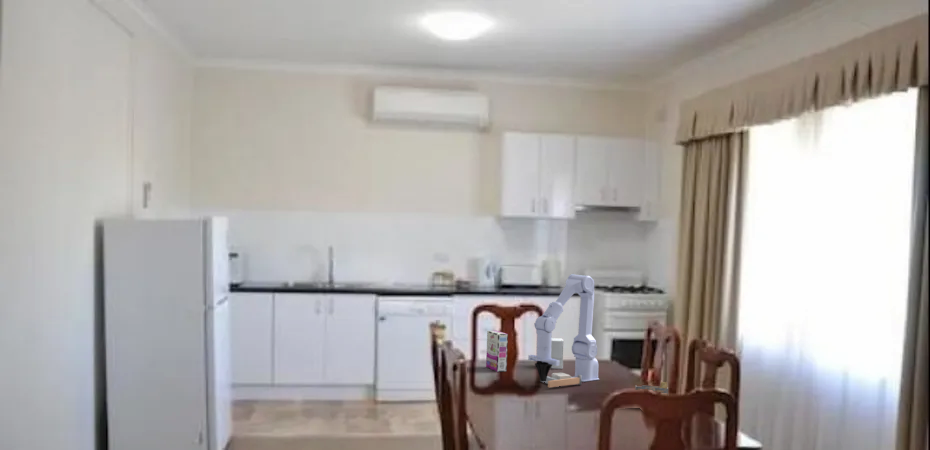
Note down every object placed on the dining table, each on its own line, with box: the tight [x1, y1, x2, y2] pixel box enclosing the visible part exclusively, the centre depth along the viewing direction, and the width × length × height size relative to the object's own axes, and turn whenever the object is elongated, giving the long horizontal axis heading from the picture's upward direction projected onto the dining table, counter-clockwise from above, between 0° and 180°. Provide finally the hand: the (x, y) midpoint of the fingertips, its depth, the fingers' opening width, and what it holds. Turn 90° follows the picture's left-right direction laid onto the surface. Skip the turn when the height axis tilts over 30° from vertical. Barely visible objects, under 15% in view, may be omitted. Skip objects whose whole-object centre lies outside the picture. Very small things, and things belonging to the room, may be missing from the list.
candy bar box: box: [485, 330, 509, 373], centre depth 327 cm, size 11×5×16 cm, turn 25°
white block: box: [551, 372, 571, 380], centre depth 303 cm, size 5×6×4 cm
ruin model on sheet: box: [634, 380, 669, 395], centre depth 270 cm, size 11×3×10 cm, turn 80°
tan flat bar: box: [547, 375, 582, 388], centre depth 297 cm, size 17×1×4 cm, turn 123°
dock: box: [540, 375, 578, 388], centre depth 304 cm, size 10×11×2 cm
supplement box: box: [550, 337, 565, 370], centre depth 336 cm, size 7×7×13 cm
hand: (543, 380), depth 298 cm, fingers closed
